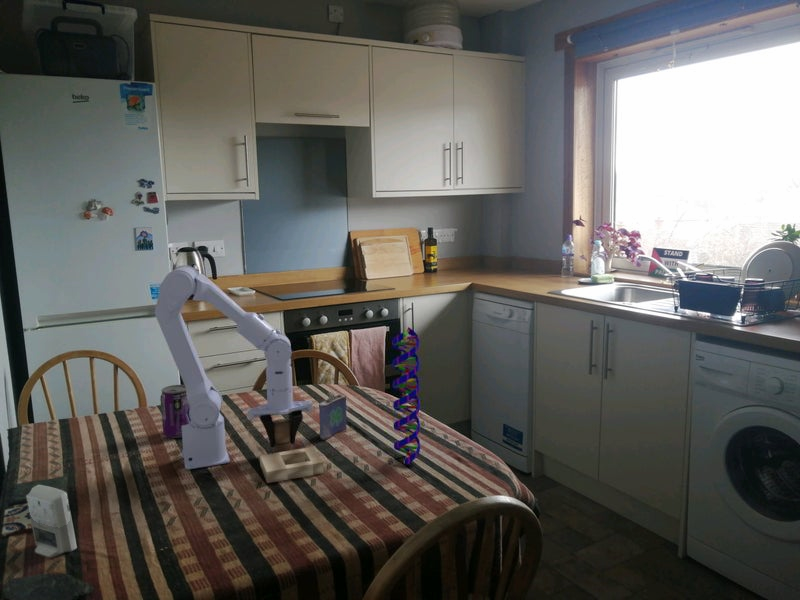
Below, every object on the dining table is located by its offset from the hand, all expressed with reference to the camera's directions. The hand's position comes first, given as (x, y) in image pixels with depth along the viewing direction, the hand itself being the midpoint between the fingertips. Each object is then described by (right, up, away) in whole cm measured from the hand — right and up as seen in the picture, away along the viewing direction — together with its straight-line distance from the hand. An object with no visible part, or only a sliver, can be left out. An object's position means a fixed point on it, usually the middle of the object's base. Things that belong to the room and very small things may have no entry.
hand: (282, 444), depth 147 cm
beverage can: (-28, -1, +13) cm, 31 cm away
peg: (0, -2, 0) cm, 2 cm away
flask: (+11, 0, +12) cm, 16 cm away
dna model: (+29, -3, -4) cm, 29 cm away
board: (+4, -4, -8) cm, 10 cm away
